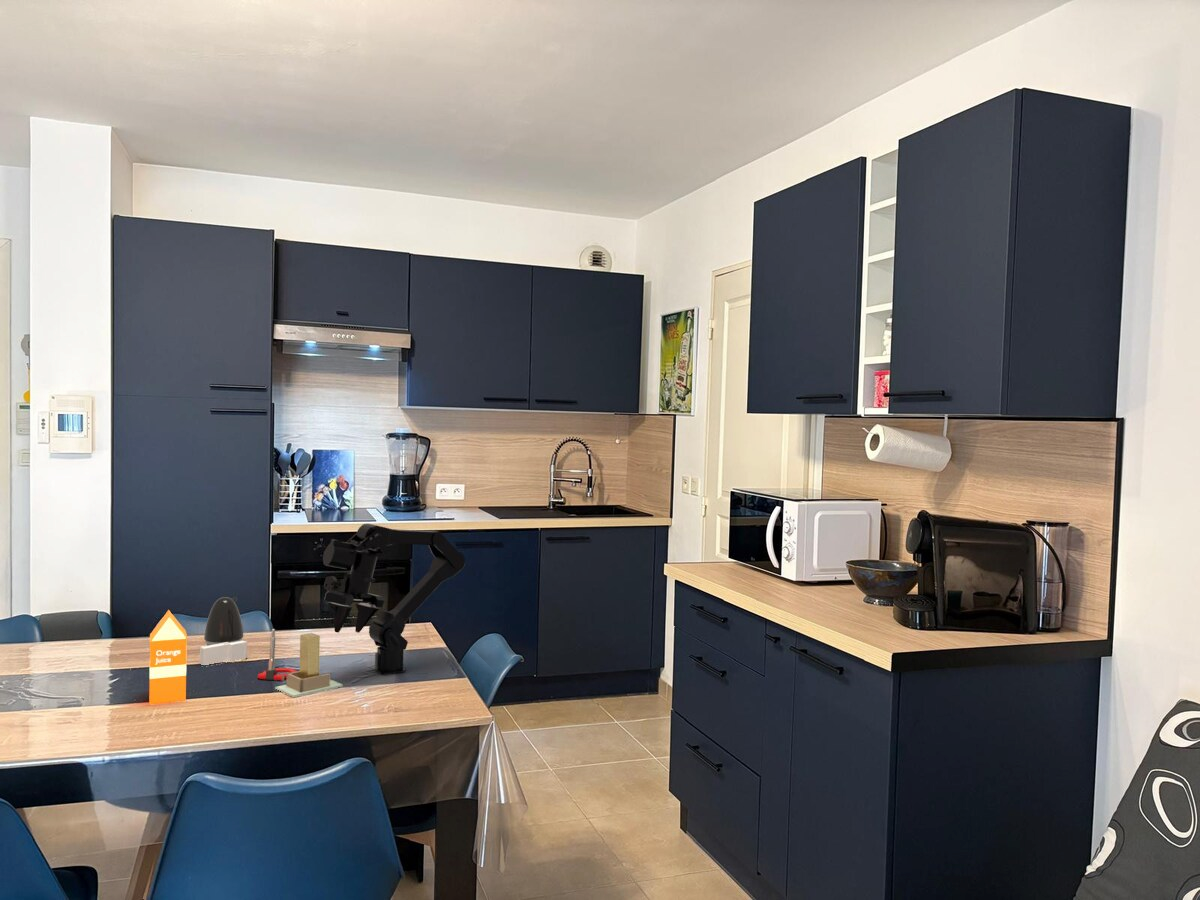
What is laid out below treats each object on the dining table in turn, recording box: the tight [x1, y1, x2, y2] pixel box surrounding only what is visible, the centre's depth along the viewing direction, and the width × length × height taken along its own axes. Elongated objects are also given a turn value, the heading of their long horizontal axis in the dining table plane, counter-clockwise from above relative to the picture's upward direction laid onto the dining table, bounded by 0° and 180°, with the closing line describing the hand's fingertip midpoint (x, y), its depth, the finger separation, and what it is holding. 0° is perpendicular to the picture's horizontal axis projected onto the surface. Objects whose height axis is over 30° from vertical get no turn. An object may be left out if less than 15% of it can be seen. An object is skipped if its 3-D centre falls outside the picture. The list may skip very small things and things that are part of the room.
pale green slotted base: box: [274, 670, 343, 698], centre depth 212 cm, size 13×9×4 cm
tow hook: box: [257, 628, 297, 682], centre depth 222 cm, size 8×13×9 cm
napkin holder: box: [199, 640, 248, 665], centre depth 233 cm, size 15×11×6 cm
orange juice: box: [148, 609, 188, 706], centre depth 202 cm, size 8×9×20 cm
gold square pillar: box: [299, 632, 321, 679], centre depth 212 cm, size 5×4×12 cm
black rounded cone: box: [203, 596, 244, 646], centre depth 245 cm, size 10×10×15 cm
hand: (347, 632), depth 220 cm, fingers open, 9 cm apart
